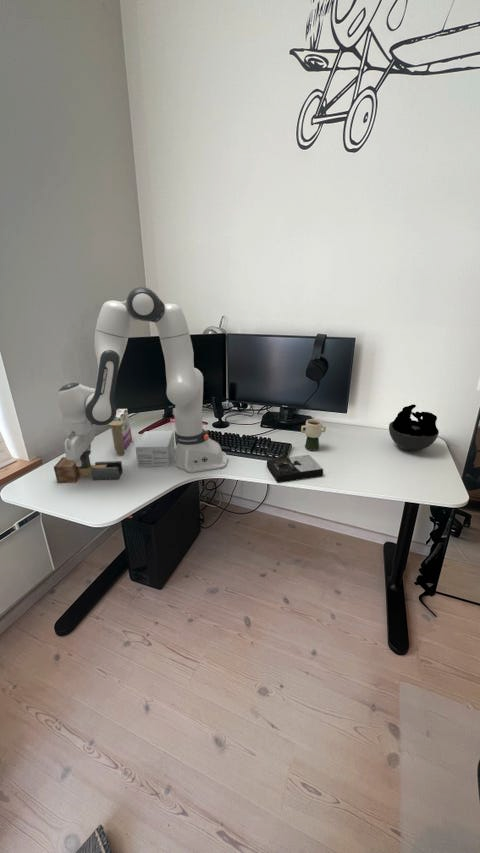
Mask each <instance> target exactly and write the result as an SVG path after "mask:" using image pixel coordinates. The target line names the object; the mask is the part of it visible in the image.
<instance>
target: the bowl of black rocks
mask: <svg viewBox="0 0 480 853" xmlns="http://www.w3.org/2000/svg"><path fill="white" fill-rule="evenodd" d="M416 407H417V405H416V404H410V405H407V406H404V407H402V408H401V409H402V410H400V411H399V412H398V414H397V415H396V417H395V418H394V420H393V421H392V422H389V425H388V432H389V436H390V437H391V439H392V441H393V442H394V443H395V444H396V445H397V446H398V447H400V448H402V449H404V450H407V451H421V450H425V449H427V448H429V447H430V446H431V445H432V444H434V443H435V441H436V440H437V439H438V437H439V434H440V433H439V429H438V427H437V419H438V416H437V415H435V414H433V413H432V412H429V411H421V412H419V411H414V412H413V409H415V408H416ZM412 416H413V417H414V418H416V419H417V420H413V419H412Z"/></svg>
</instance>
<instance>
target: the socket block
mask: <svg viewBox="0 0 480 853" xmlns="http://www.w3.org/2000/svg"><path fill="white" fill-rule="evenodd" d="M76 468H77V466H76V463H75V462H74V461H68V460H67V459H66V456H64V457H63V456H62V457H61V458H60V459H59V461H58V462H56V464H55V465H54V466H53V470H54V474H55V479H56V483H57V484H72V483H73V484H76V483H77V482H78V481H79V479H80V478H81V477H82V476H77V472H76Z"/></svg>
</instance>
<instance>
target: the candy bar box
mask: <svg viewBox="0 0 480 853" xmlns="http://www.w3.org/2000/svg"><path fill="white" fill-rule="evenodd" d="M116 411H117V413H116V417H115V419H114V420H113V421H122V422H124V426H123V427H121V432H122V436H123V441H124V451H126V450H127V448H128V447H129V446H130V444H131V443H132V441H133V437H132V430H131V425H130V423H131V422H130V418H129V412H128V408H116ZM110 429H111V430H110V431H111V435H112V439H113V442H114V435H113V429H112V428H110ZM113 445H114V444H113ZM114 450H115V451H116V449H115V445H114Z"/></svg>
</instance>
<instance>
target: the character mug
mask: <svg viewBox="0 0 480 853" xmlns="http://www.w3.org/2000/svg"><path fill="white" fill-rule="evenodd" d="M326 428H327V426H326V425H323V421H321V420H319V419H314V418H311V419H307V420H306V421H305V425H301V428H300V432H301V433H304V434H305V436H306V439H305V440H306V441H305V445H304V447H305V449H307V450H308V451H309V450H310V451H317V450H318V449H320V442H319V441H320V438H319V437H321V435H322V433H326V430H327V429H326Z"/></svg>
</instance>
